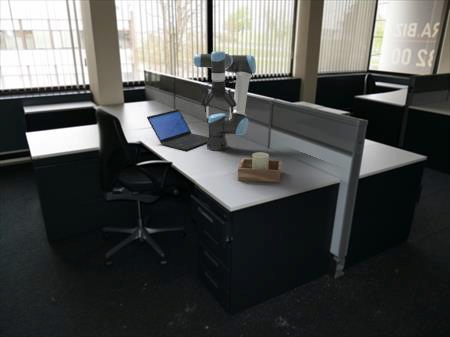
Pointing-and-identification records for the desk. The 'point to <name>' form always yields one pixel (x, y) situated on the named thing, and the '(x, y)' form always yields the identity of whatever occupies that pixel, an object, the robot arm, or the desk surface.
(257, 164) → the can
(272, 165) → the walled box
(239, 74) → the robot arm
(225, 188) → the desk surface
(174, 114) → the laptop
